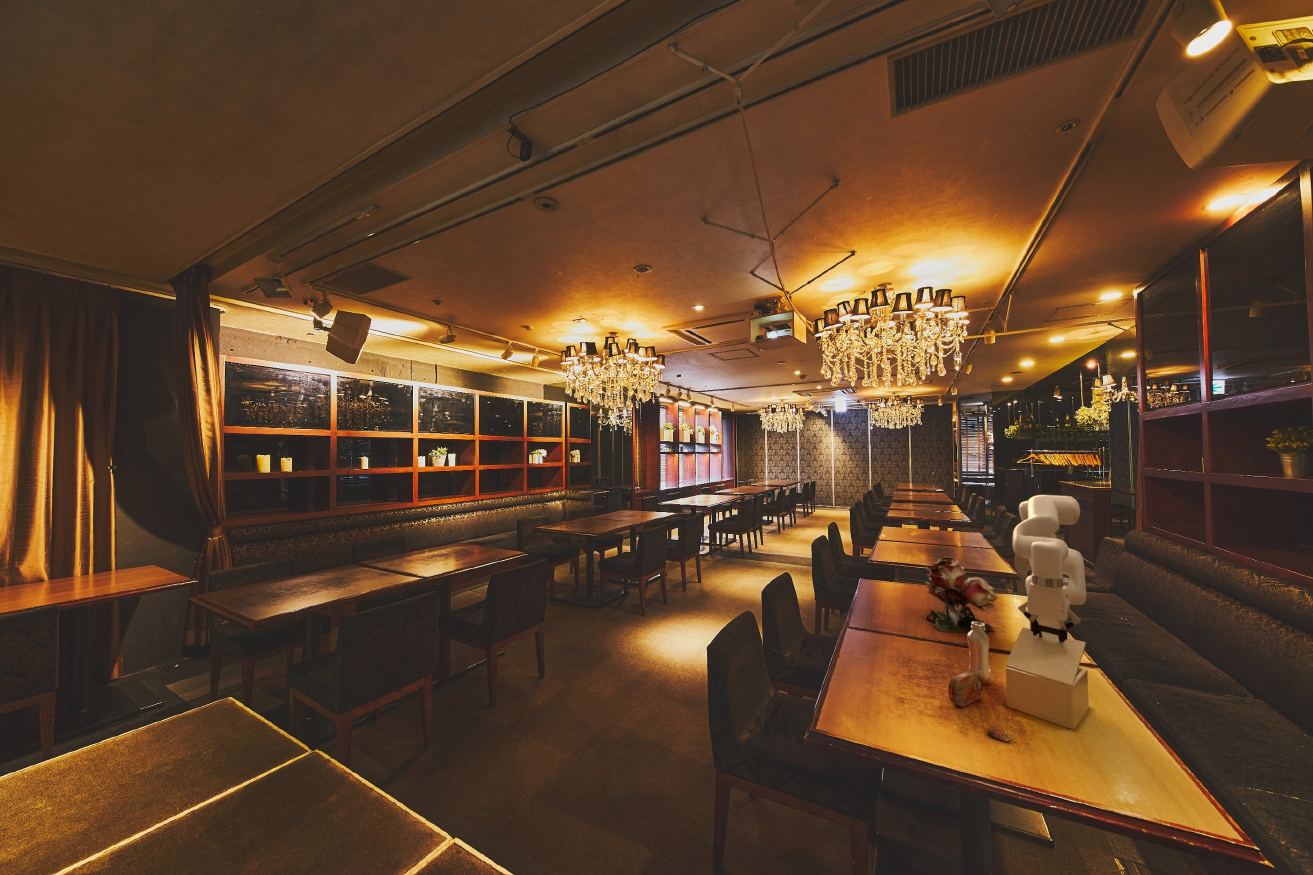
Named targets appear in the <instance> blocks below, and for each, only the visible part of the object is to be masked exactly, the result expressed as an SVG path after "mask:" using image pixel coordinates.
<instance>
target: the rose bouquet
mask: <svg viewBox="0 0 1313 875" xmlns="http://www.w3.org/2000/svg"><path fill="white" fill-rule="evenodd" d="M931 564H932V565H933V566H929V567H928V568H927V569H926V572H929V573H925V575H926V576H927V577H928V579H927V580H923V582H925V584H926V586H927V589H928V592H927V593H928V594H929V595H931V596H932V597H935V598H937V599H938V601H940V602H942V603H943V604H944V606H943V611H942V612H941V611H937V610H935V609H933V610H932V609H929V614H928V615H925V619H926V620H927V619H928V620H930V621H932V622H934V623H931V625H932V626H933V627H934V628H935V629H936V630H937V631H941V632H947V633H948V632H949V633H969V632H970V631H971V630H972V628H971V623H972V622H981V623H983V624H984V628H985V630H984V632H988V631H993V632H994V631H995V630H994V628H993V626H991V624H990V623H987V622H985V621H984V620H979V619H978V618H976V616H975V614H974V612H973V611H972V610H971V608H970V607H969V605H972V606H974V607H975V608H977V609H978V610H981V611H982V612H987V613H988V614H990V612H989V611H988V610H985V609H984V608H986V609H992V608H995V605H996V604H995V601H996V600H998V597H997V596H996V595H995V593H994V591H995V590H996V589H995V588H994V587H993V586H991V585H989V583H988V582H987V580H985V579H983V578H981V577H977V576H974V577H971V576H970V577H967V578H966V574H967V571H965V568H964V566H961V565H960V560H959V559H957V557H955V556H949V555H948V556H947V555H945V556H943V557H938V558H937V560H936V562H934V561H933V562H932V563H931ZM965 579H966V580H965ZM991 602H992V603H991ZM960 606H961V608H960ZM959 608H960V609H959Z"/></svg>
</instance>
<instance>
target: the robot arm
mask: <svg viewBox="0 0 1313 875" xmlns="http://www.w3.org/2000/svg"><path fill="white" fill-rule="evenodd" d="M1018 513H1019V516H1020V520H1021V522H1020V523H1018V524H1017V525H1016V526H1015V527H1014V529H1013V531H1012V550H1013V553H1014V554H1015V555H1016V556H1017V557H1019V558H1021V559H1028V560H1029V564H1030V566H1031V574H1030V575H1029V576H1027V577H1026V578H1025V583H1024V585H1025V590H1026V595H1027V600H1026V602H1024V603H1023V604H1020V605H1019V606H1017V609H1018V611H1019V612H1021V613H1022V614H1023V616H1025V618H1026V619H1027V620H1028V621H1029V629H1031V631H1032V632H1033V635H1034V636H1036V635H1037V634H1038V633H1039V632H1038V631H1037V629H1036V626H1037V624H1039V625H1043V626H1048V627H1052V628H1056V629H1060V642H1062V643H1063V642H1064V641H1065V640H1067V639H1068V638H1069V635H1068V630H1069V629H1070V628H1072V627H1075V626H1076V625H1078V624H1079V623H1081V621H1082V620H1081V618H1079V616H1078V615H1077V614H1076V613H1074V612H1073V610H1071V605H1072V606H1083V605H1085V604H1086V601H1087V586H1086V572H1085V562H1084V561H1085V560H1084V557H1083V555H1082V553H1081V552H1079V551H1078V550H1076V549H1072V548H1069V546H1068V545H1067V543H1066V542H1065V541H1064V540H1063V539H1060V538H1057V534H1056V532H1057V531H1058V530H1059V528H1060V525H1065V526H1067V525H1068V526H1070V525H1075V524H1077V522H1078V521H1079V518H1080V516H1081V507H1080V504H1079V502H1078V501H1077V499H1076V498H1074V497H1073V496H1070V495H1051V494H1038V495H1033V496H1032V497H1030V498H1029V499H1028V500H1025V501H1022V502H1020V504H1019V506H1018ZM1063 575H1066V576H1068V577H1063ZM1026 608H1027V609H1026ZM1069 618H1070V619H1072V620H1070V621H1067V620H1068V619H1069ZM1049 634H1050V633H1049ZM1053 635H1054V634H1053ZM1057 636H1058V635H1057Z"/></svg>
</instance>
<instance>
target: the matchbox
mask: <svg viewBox="0 0 1313 875" xmlns="http://www.w3.org/2000/svg"><path fill="white" fill-rule="evenodd" d="M987 734H988V735H989V736H990V737H992V738H995V739H997V740H1000V741H1001V740H1002V741H1003V742H1004V741H1005V742H1009V741H1010V738H1009V737H1010V735H1009V734H1008V733H1006V732H1004V731H1002V730H999V729H997V728H992V729H991V730H988V733H987Z"/></svg>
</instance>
